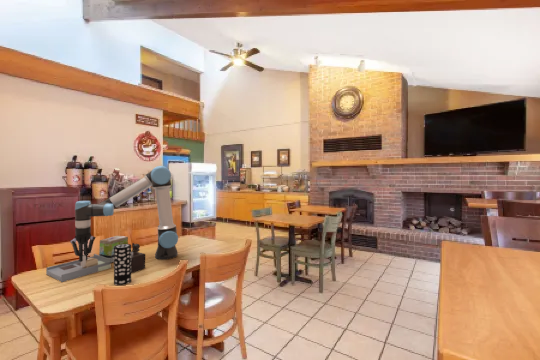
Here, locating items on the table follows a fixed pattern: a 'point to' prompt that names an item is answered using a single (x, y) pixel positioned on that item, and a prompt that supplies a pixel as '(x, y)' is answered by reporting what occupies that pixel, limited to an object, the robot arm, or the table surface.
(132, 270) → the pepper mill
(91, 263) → the block
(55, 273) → the track
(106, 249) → the tea box
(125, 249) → the spotted tube
